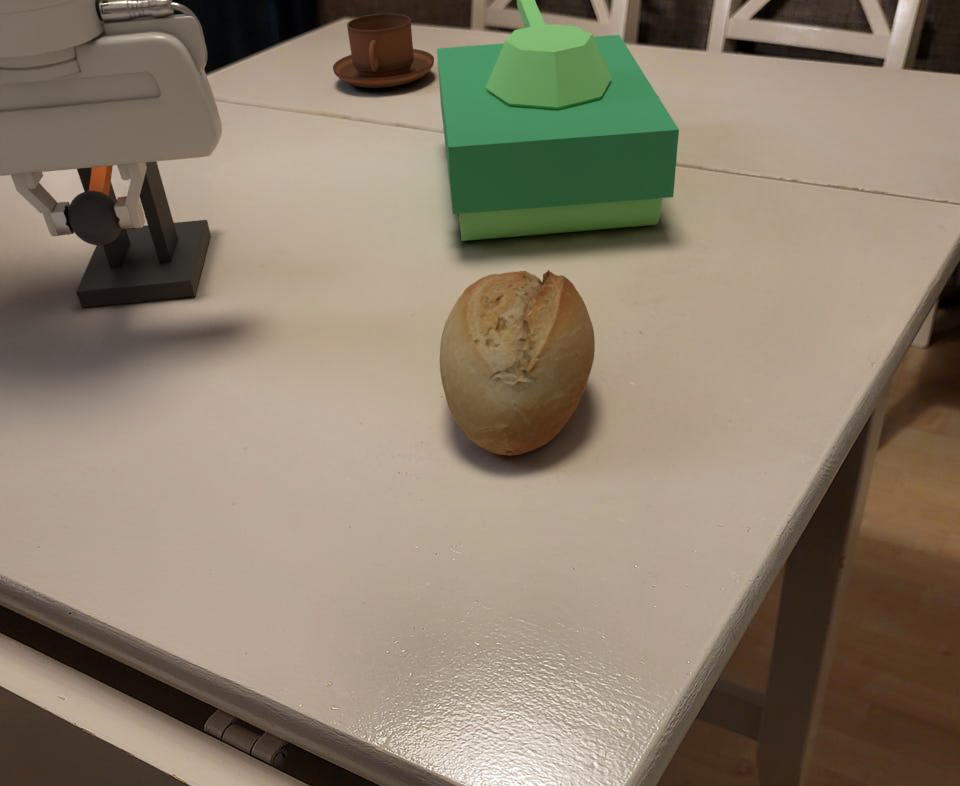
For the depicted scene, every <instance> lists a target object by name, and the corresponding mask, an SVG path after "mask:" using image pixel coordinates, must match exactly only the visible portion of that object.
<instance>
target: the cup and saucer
mask: <svg viewBox="0 0 960 786" xmlns="http://www.w3.org/2000/svg"><path fill="white" fill-rule="evenodd" d="M411 20H412V19H411V18H410V17H409V16H408V15H406V14H402V13H394V12H393V13H389V12H386V13H374V14H368V15H362V16H359V17H356V18H353V19H351V20H349V21H348V22H347V24H346V27H347V34H348V35H347V36H348V40H349V47H350V54H348V55H347V56H344V57H342V58H340V59H338V60H337V61H336V62H334V63H333V65H332V70H333V73H334V75H335V76H336V77H337V78H338V79H339V80H340V81H341V82H343V83H346V84H348V85H351V86H355V87H360V88H368V89H369V88H372V89H374V88H376V89H377V88H391V87H397V86H403V85H405V84H410V83H412V82H414V81H417V80H419V79H421V78H423V77H425V76H426V75H427V74H428V73H429V72H430V71H431V70H432V68H433V67H434V63H435V57H434V55H433V54H432V53H430V52H428V51H427V50H426V51H425V50H422V49H417V48H414V46H413V45H414V43H413V32H412V31H413V30H412V21H411Z"/></svg>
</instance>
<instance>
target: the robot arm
mask: <svg viewBox="0 0 960 786" xmlns="http://www.w3.org/2000/svg"><path fill="white" fill-rule="evenodd" d="M175 11H177V12H180V13H182V14H180V13H179V14H175ZM207 61H208V48H207V45H206V40H205V35H204V31H203V27H202V24H201V22H200V20H199V19H198V17H197V16H196V14H195V13H194V12H193V11H192V10H191V9H190V8H189V7H187V6H186V5H184V4H182V3H179V2H173V0H0V177H3V176H4V177H5V176H10V177H11V180H12V182H13V185H14V187H15V190H16V191H17V193H19V195H21V196H22V197H23V198H24V199H25V200H26V201H27V202H28V203H29V204H30V205H31V206H32V207H33V208H34V209H35V210H36V211H38V213H39V214H42V216H43V218H44V221H45V223H46V227H47V229H48V231H49V234H50V236H52V237H60V236H66V235H73V234H75V233H74V231H73V230H72V228H71V226H70V223H69V219H68V210H69V206H70V204H71V203H70V202H69V201H60V202H58V201H57V200H56V199H55V198H54V197H53V196H52V195H51V194H50V192H49V191H48V190H47V189H46V188H45V187H44V186H43V185H42V184H41V183H40V182H41V180H42V179H43V177H44V174H43V173H45V172H46V173H47V172H57V171H67V170H68V171H69V170H77V169H80V168H90V167H101V166H112V165H113V166H117V169H118V172H119V175H120V179H121V180H123V181H129V180H130V181H129V186H128V191H127V195H126V196H125V195H124V196H117V197H116V199H117V200H116V201H117V203H115V205H114V210H115V213H116V216H117V217H118V218H119V219H120V220H119V226H120V228H121V229H122V230H124V229H135V228H143V226H145V222H146V217H145V213H144V210H143V207H142V203H141V200H140V197H139V196H140V193H141V189H142V185H143V181H144V177H145V173H146V169H147V167H146V163H145V162H155V161H157V162H165V161H176V160H183V159H184V160H185V159H197V158H206V157H207V158H208V157H210V156H211V155H212V154H213V153H214V151H215V150H216V148H217V146H218V145H219V142H220V141H221V138H222V133H223V126H222V125H223V124H222V121H221V116H220V113H219V108H218V106H217V102H216V99H215V96H214V93H213V90H212V87H211V84H210V81H209V79H208V75H207V73H206V70H205V67H206V65H207Z"/></svg>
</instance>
